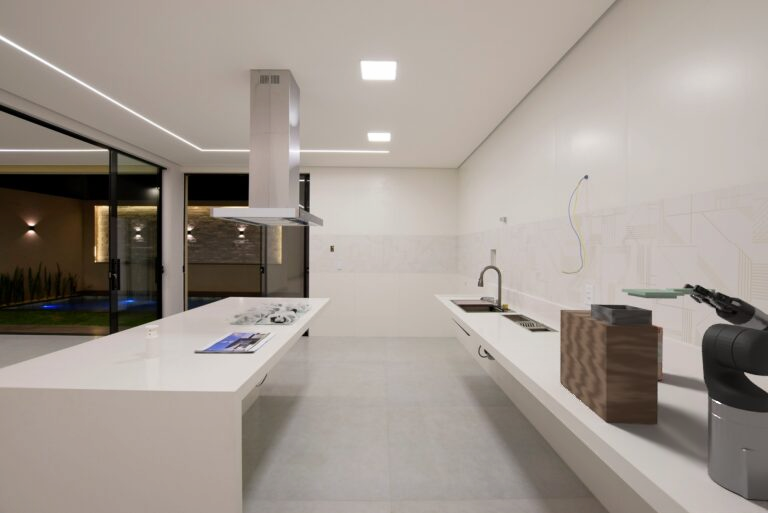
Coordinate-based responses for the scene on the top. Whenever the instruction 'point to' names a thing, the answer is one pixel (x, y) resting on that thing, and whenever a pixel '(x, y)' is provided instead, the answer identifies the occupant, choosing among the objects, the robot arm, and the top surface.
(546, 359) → the top surface
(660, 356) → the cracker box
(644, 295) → the green t-shaped block
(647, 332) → the cabinet
